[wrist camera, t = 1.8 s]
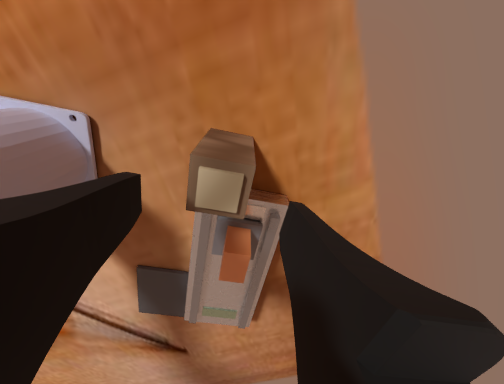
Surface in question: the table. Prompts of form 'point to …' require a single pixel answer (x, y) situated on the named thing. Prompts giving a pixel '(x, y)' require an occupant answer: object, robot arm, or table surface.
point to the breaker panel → (208, 265)
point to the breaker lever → (235, 246)
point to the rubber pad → (162, 291)
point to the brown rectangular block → (221, 174)
